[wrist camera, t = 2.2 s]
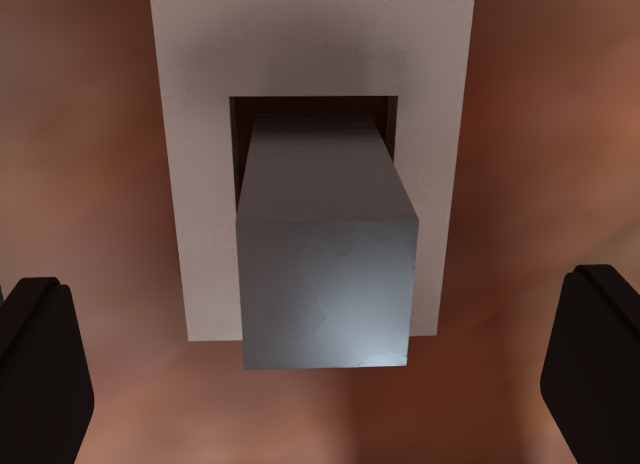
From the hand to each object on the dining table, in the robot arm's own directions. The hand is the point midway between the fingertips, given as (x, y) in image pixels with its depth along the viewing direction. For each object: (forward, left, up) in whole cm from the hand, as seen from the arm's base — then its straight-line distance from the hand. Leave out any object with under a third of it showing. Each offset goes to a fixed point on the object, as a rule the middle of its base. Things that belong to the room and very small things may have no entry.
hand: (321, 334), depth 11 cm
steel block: (-1, 0, -12) cm, 12 cm away
